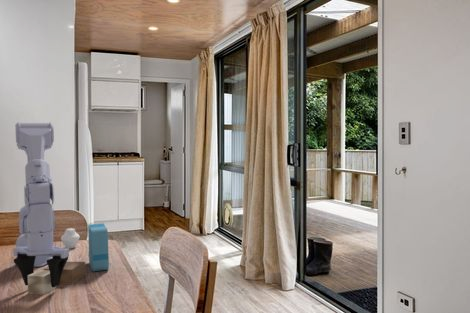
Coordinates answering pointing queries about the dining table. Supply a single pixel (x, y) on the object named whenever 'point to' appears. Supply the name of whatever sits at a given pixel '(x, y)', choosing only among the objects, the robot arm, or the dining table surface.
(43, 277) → the birch cube
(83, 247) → the dining table surface
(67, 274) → the walnut base block
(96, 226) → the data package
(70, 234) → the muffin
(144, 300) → the dining table surface
